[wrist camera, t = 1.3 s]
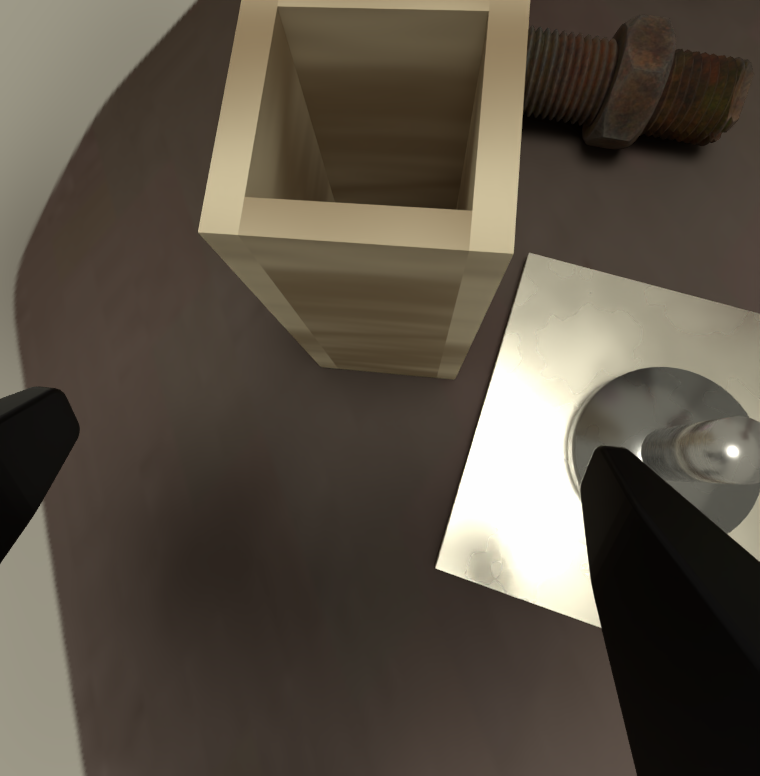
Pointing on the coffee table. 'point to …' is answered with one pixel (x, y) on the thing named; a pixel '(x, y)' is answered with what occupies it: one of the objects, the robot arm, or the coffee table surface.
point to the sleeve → (372, 172)
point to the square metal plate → (602, 425)
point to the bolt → (633, 85)
